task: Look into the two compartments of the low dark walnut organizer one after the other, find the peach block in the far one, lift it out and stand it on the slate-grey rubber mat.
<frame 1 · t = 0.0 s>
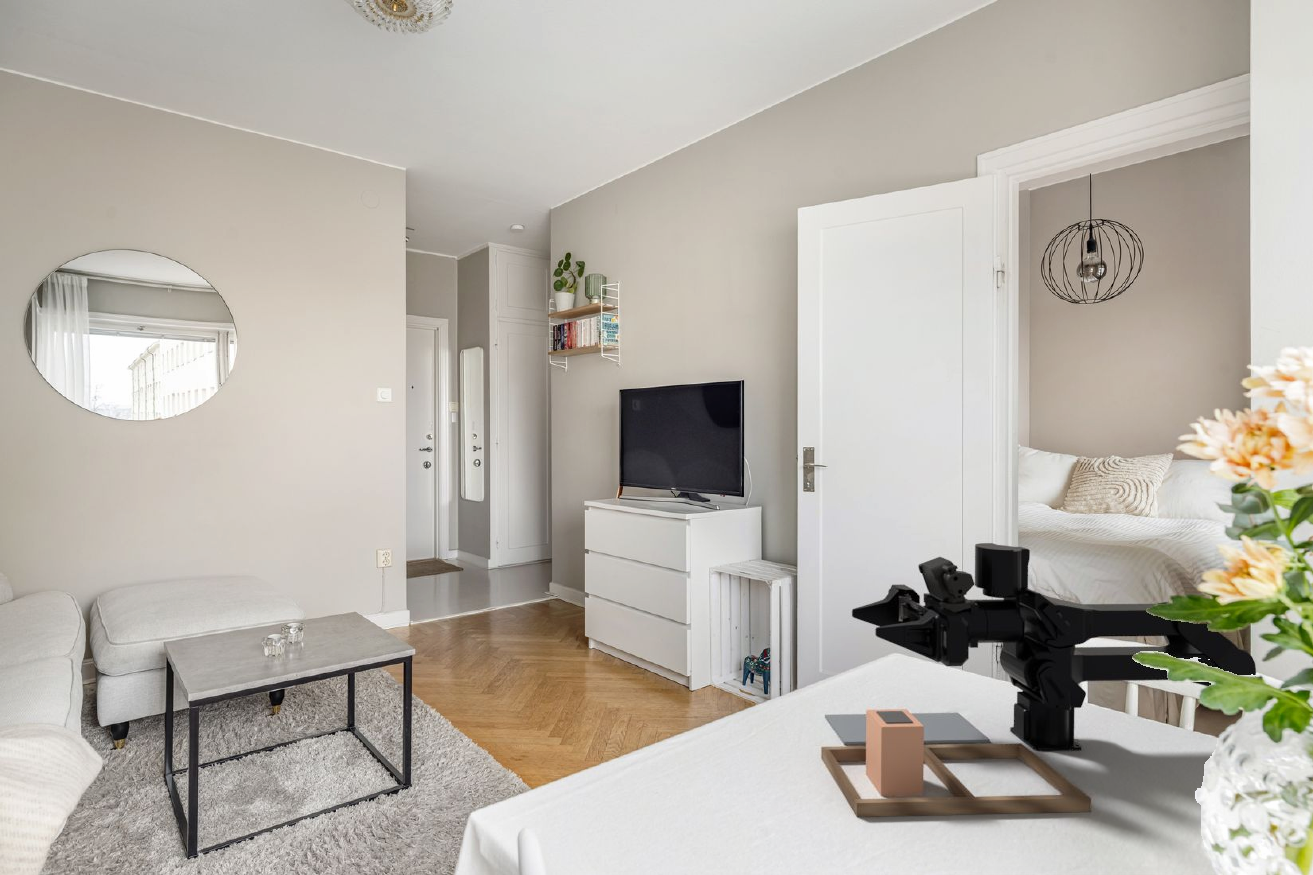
hand: (863, 622, 95), 16 cm above the table, fingers open, 9 cm apart
organizer: (946, 782, 84), on the table
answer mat: (904, 729, 99), on the table
peach block: (893, 784, 84), resting in organizer
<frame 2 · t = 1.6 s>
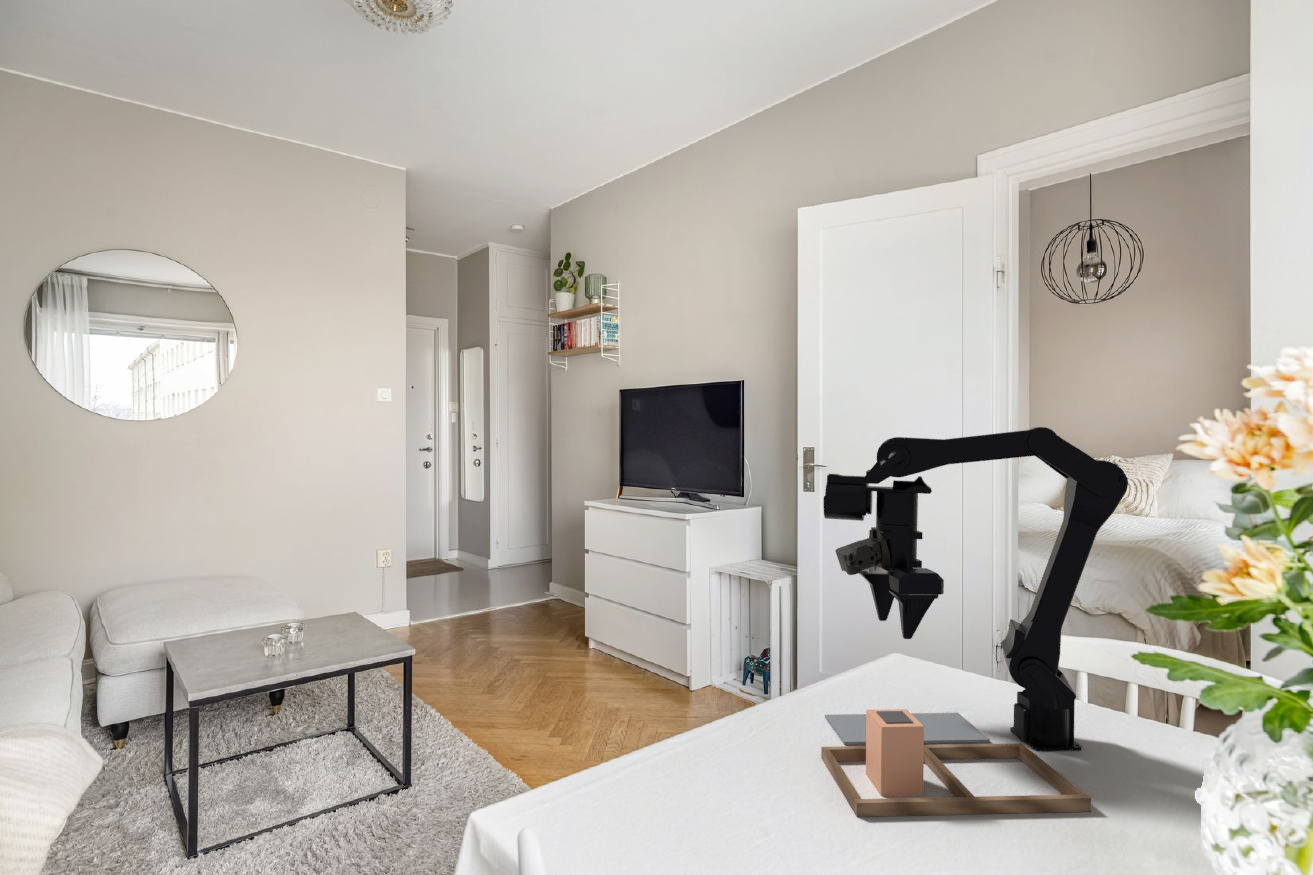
hand: (894, 629, 103), 13 cm above the table, fingers open, 9 cm apart
nothing on the table moved.
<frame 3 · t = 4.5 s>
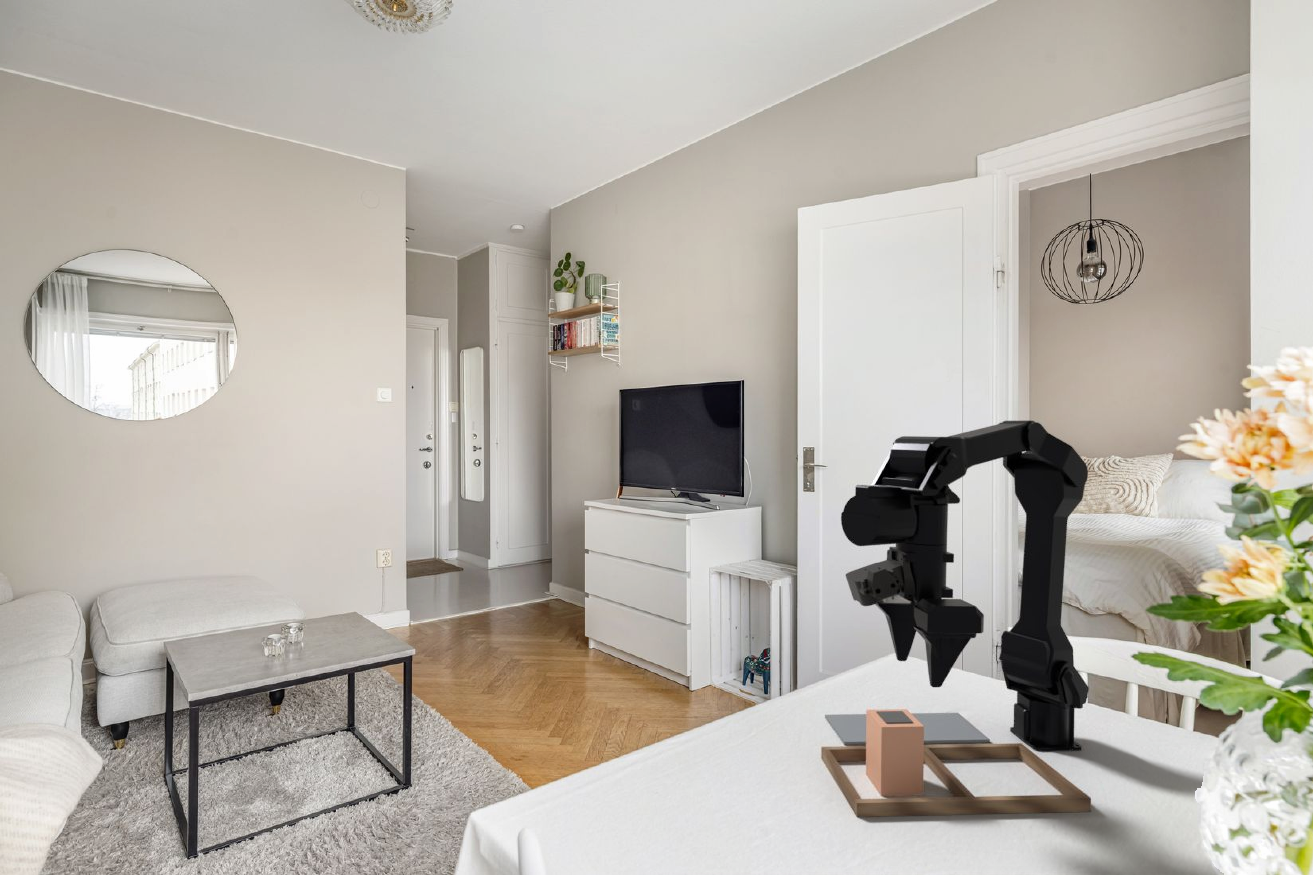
hand: (917, 672, 84), 13 cm above the table, fingers open, 9 cm apart
nothing on the table moved.
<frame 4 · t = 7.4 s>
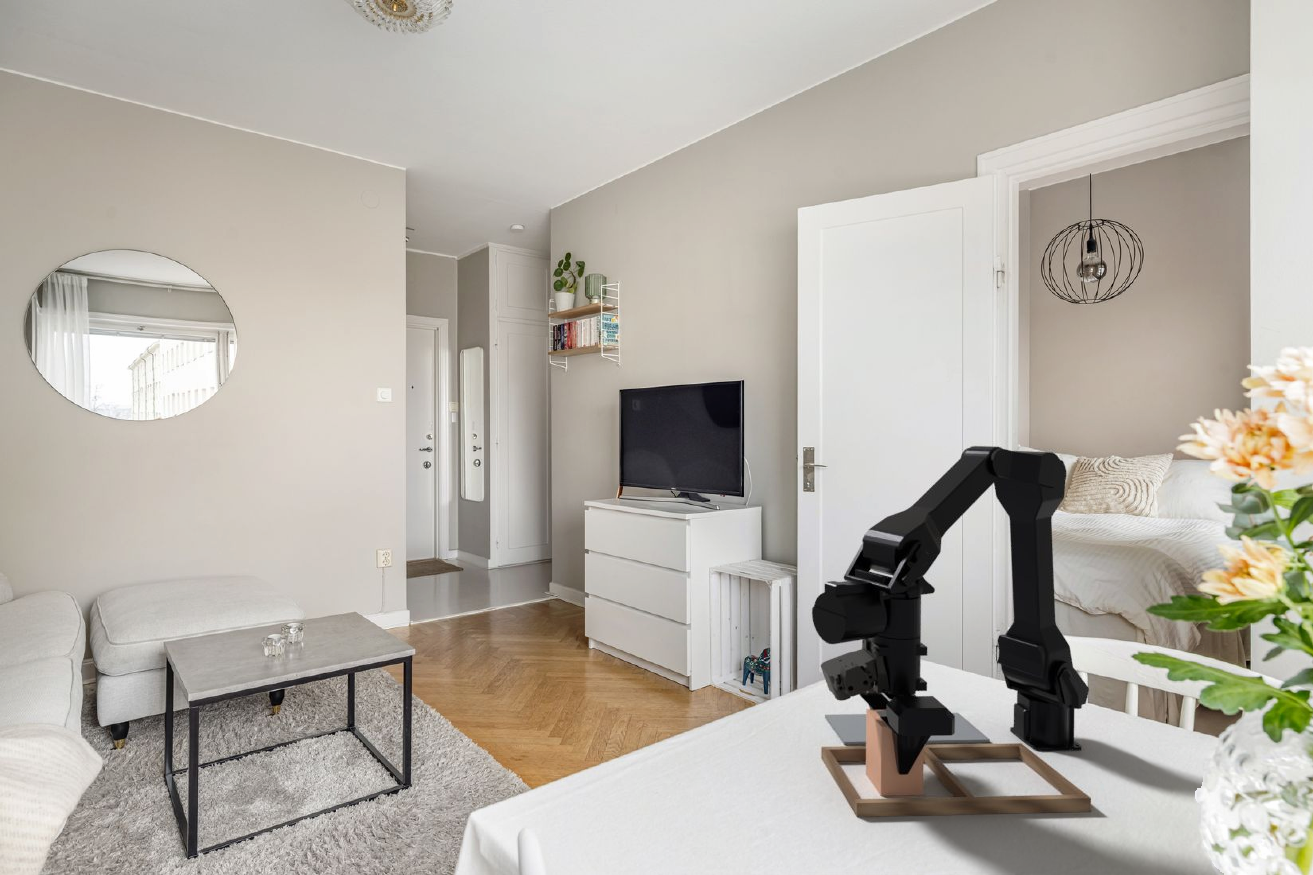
hand: (894, 762, 84), 3 cm above the table, fingers closed on peach block, 5 cm apart
peach block: (893, 784, 84), resting in organizer, touching gripper
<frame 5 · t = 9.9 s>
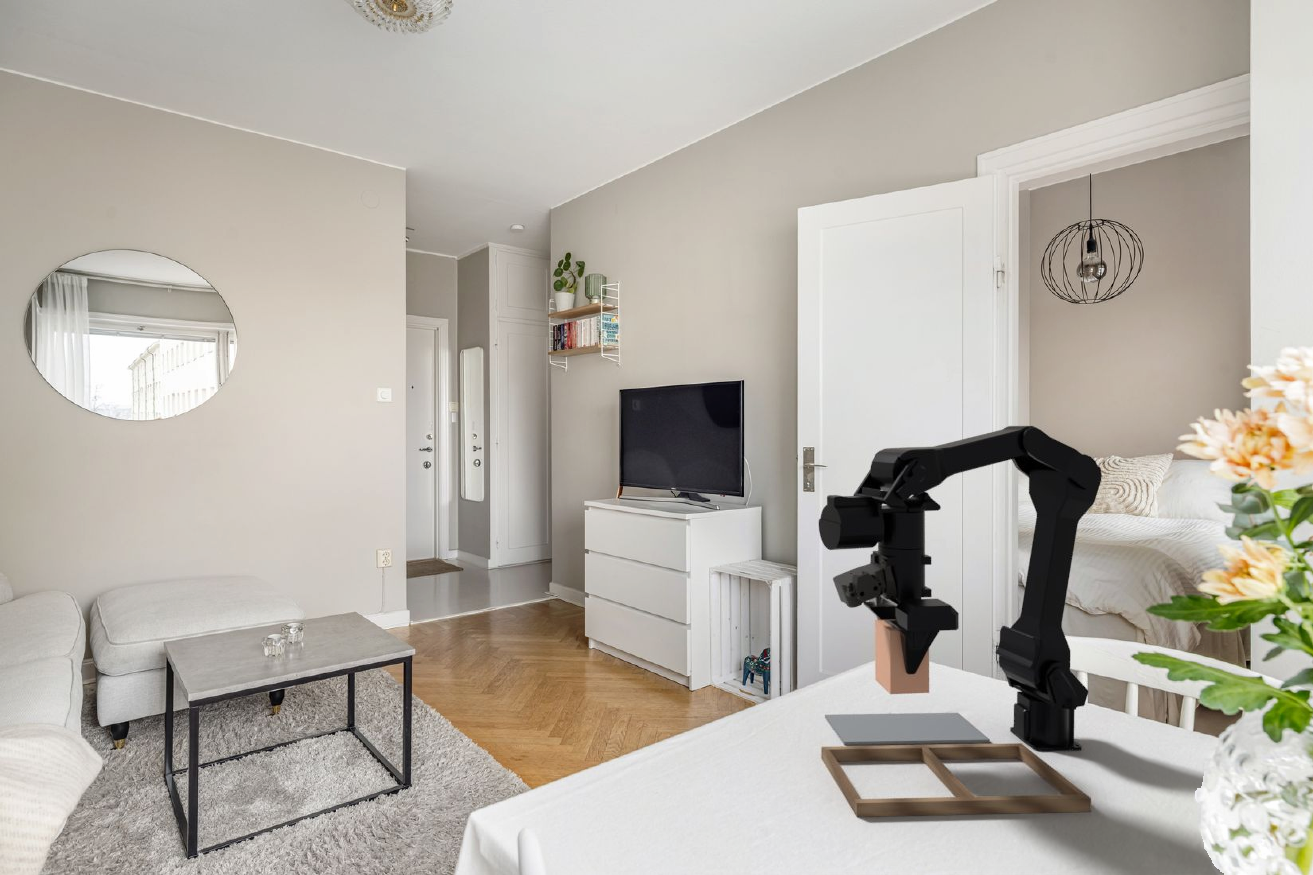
hand: (901, 666, 91), 12 cm above the table, fingers closed on peach block, 5 cm apart
peach block: (901, 686, 91), point 9 cm above the table, touching gripper
when the fingers open (4 cm above the table, at t = 12.3 s): peach block drops 1 cm, resting on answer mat.
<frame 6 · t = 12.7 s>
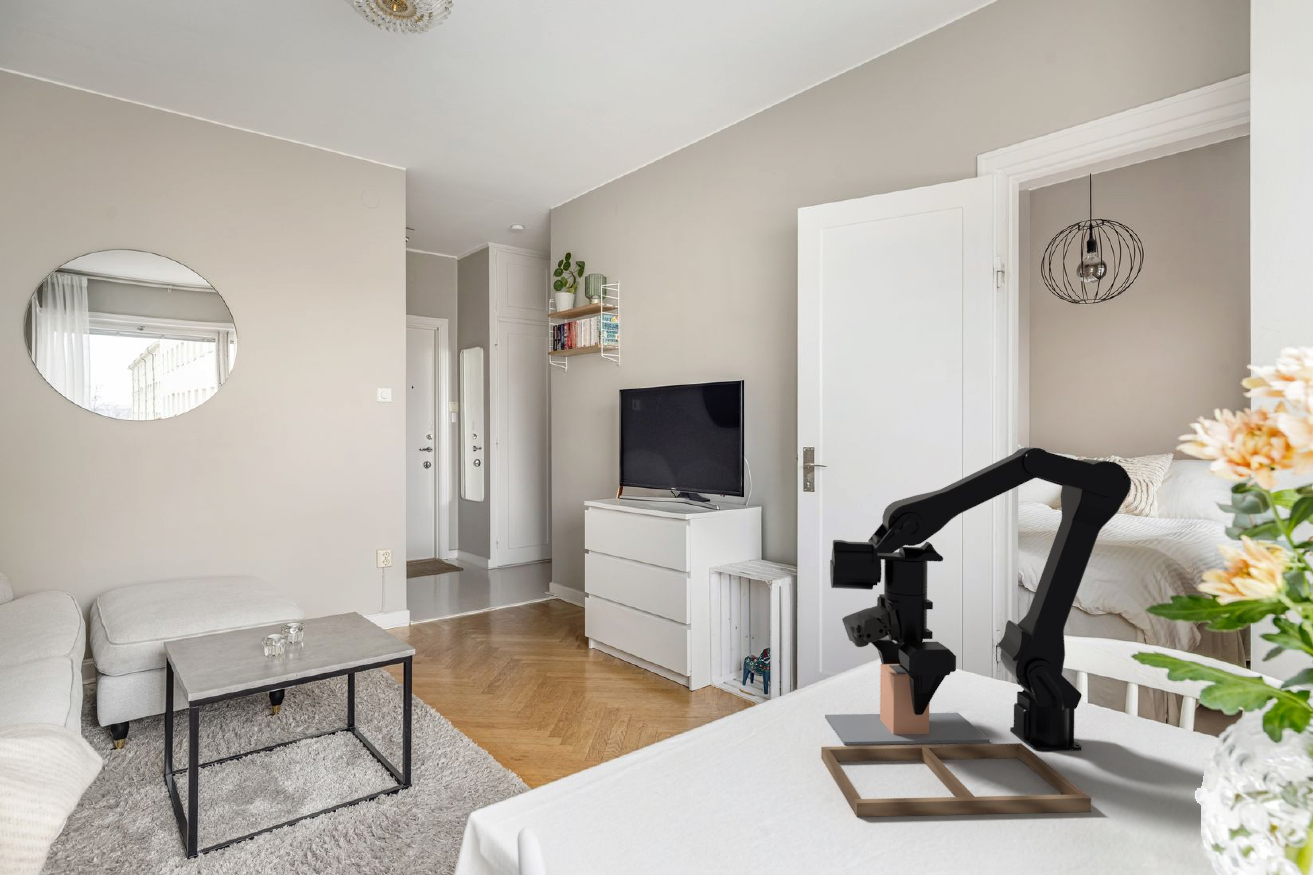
hand: (904, 701, 99), 4 cm above the table, fingers open, 9 cm apart
peach block: (903, 726, 99), resting on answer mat
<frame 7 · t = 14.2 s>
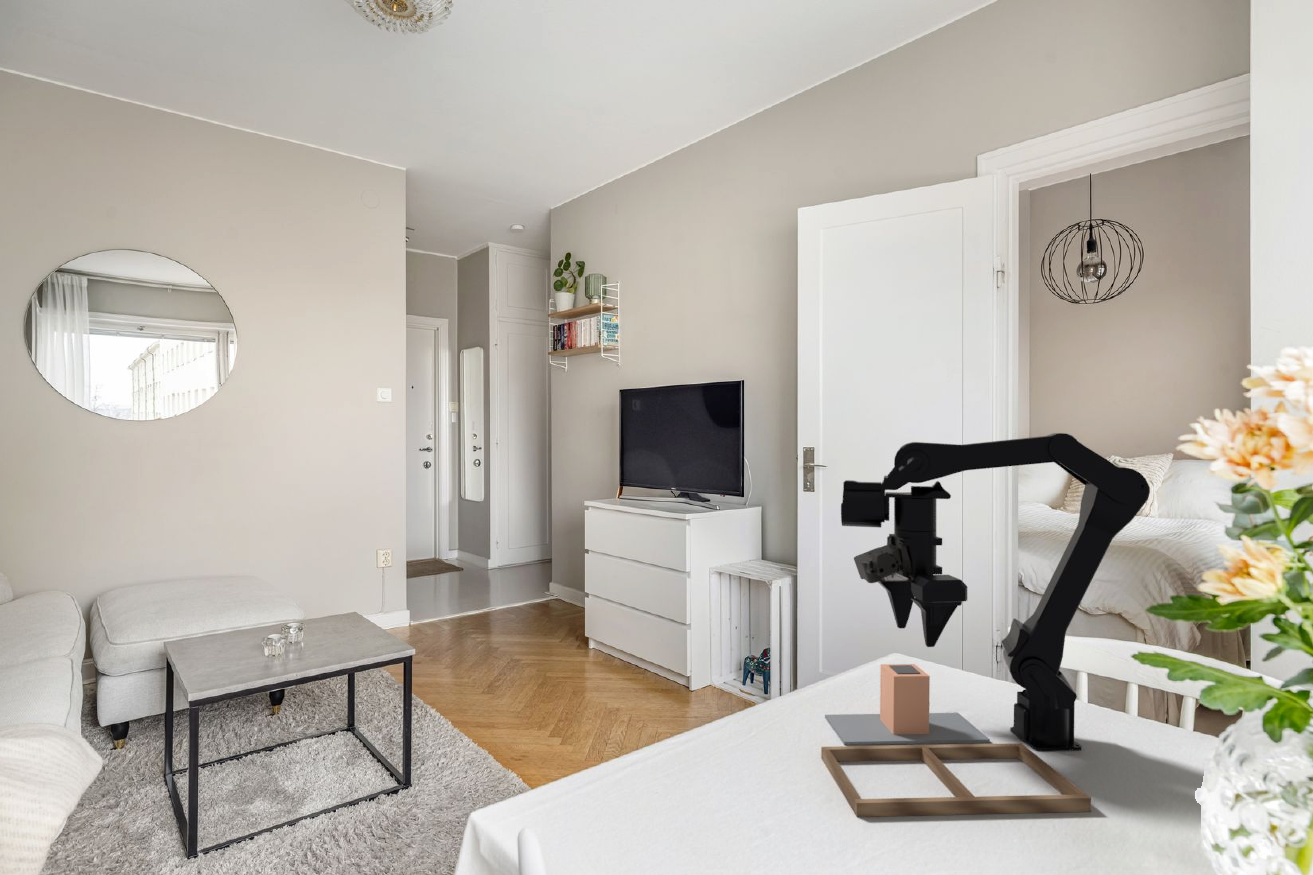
hand: (915, 636, 102), 12 cm above the table, fingers open, 9 cm apart
nothing on the table moved.
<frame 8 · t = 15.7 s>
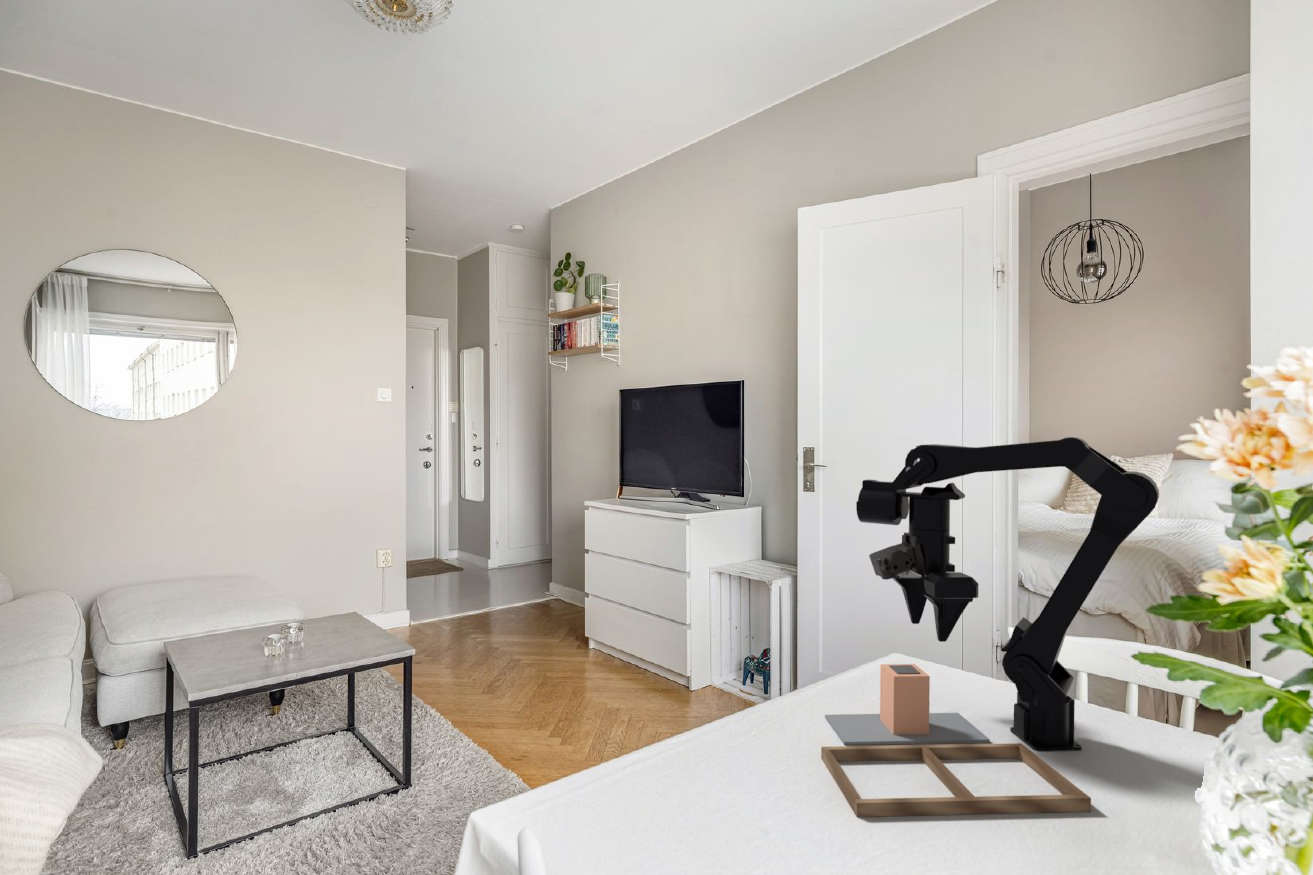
hand: (928, 631, 105), 12 cm above the table, fingers open, 9 cm apart
nothing on the table moved.
at the end: peach block inside the target area (0.0 cm from its centre), resting on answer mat; peach block tilted 0°; the gripper is holding nothing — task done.
